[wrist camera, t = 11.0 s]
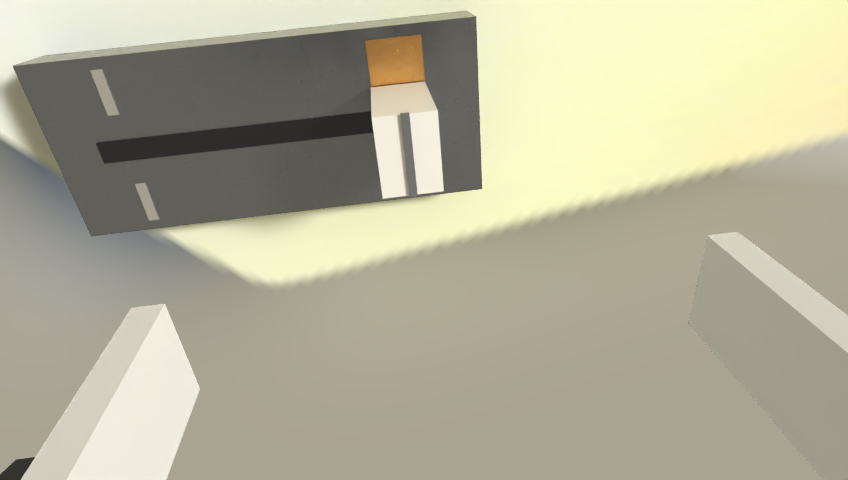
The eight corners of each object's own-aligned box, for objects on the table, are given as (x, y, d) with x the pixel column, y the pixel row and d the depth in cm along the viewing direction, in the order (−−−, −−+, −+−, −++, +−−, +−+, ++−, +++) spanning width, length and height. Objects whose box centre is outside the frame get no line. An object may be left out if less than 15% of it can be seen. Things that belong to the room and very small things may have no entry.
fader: (370, 86, 28) (371, 117, 23) (424, 80, 29) (438, 110, 23) (380, 157, 30) (383, 200, 25) (430, 151, 31) (444, 193, 25)
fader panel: (44, 55, 29) (11, 66, 26) (466, 10, 30) (476, 16, 27) (112, 214, 34) (90, 237, 31) (473, 171, 35) (482, 189, 32)
